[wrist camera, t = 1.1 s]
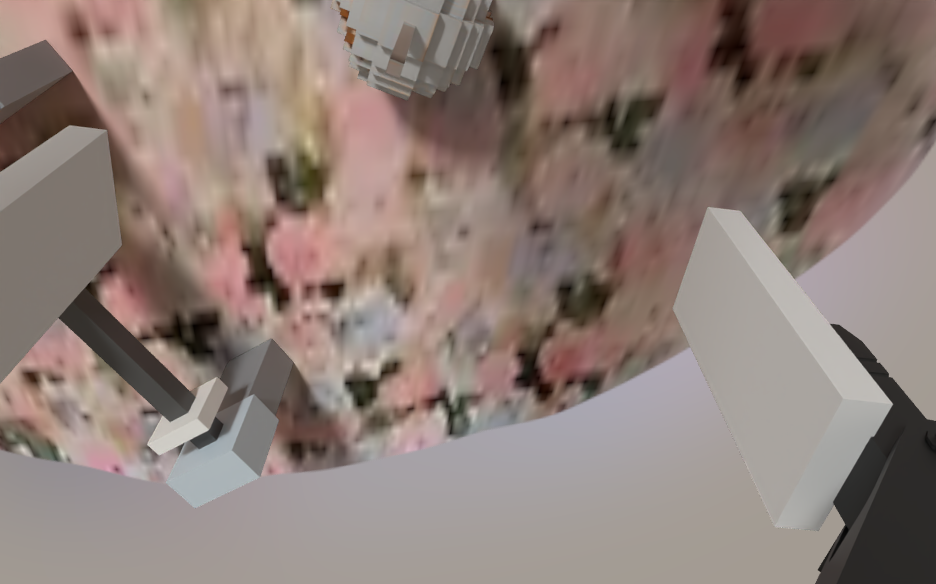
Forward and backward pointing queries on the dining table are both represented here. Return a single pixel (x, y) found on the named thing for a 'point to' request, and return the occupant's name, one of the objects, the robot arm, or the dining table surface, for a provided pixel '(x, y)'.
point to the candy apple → (414, 42)
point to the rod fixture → (184, 412)
